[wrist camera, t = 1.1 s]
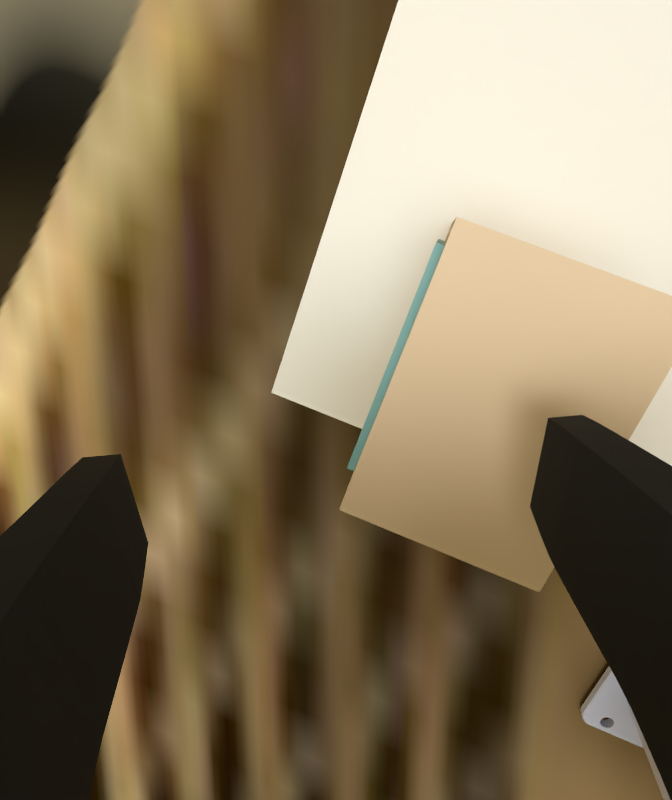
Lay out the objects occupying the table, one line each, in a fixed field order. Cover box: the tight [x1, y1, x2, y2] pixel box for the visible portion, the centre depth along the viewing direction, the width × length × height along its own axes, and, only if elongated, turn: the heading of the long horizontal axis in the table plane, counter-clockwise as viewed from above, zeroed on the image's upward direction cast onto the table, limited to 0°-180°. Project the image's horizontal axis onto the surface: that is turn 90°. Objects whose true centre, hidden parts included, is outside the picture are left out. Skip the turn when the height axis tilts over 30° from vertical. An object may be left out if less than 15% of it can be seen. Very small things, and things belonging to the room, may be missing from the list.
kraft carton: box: [339, 217, 672, 593], centre depth 16 cm, size 5×7×8 cm
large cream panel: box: [271, 0, 672, 466], centre depth 17 cm, size 15×18×4 cm
